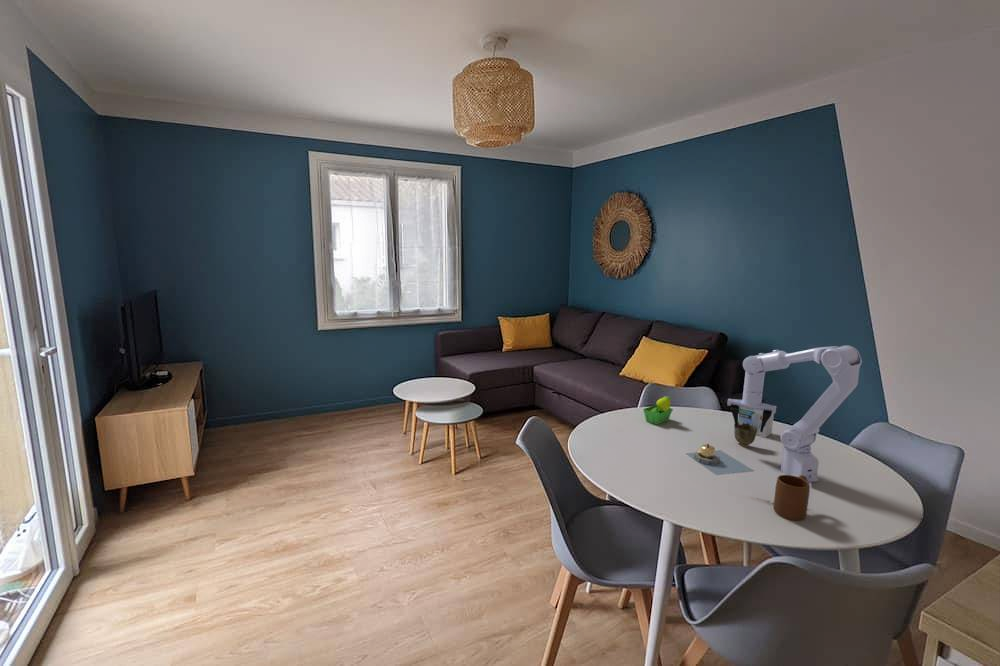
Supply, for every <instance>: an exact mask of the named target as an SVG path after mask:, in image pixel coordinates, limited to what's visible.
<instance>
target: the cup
mask: <svg viewBox="0 0 1000 666" xmlns="http://www.w3.org/2000/svg"><path fill="white" fill-rule="evenodd" d="M733 425H734V426H733V427H734V438H735V441H737V442H738V443H737V444H738V445H739V446H742V447H750V445H751V444H753V443H754V441H755V439H756V436H757V435H756V433H757V429H758V428H757V427H756V426H755V427H753V425H752V426H751V425H750V424H749V423H747V424H745V423H743V424H742V425H740V424H739V423H738V426H737V427H735V423H734V424H733Z"/></svg>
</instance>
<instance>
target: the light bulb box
mask: <svg viewBox="0 0 1000 666" xmlns="http://www.w3.org/2000/svg"><path fill="white" fill-rule="evenodd" d="M774 416H775V413H772V414H771V417H770V418H769V419H768V421H767V422H766V424H765V426H764V428H763V432H760V429H761V425H762V417H763V411H762V410H756V409H750V408H744V407H739V414H738V423H739V424H740V425H742V424H743V423H745V424H747V423H749V424H750V425H751V426H752V425H753V427H755V426H756V427H757V428H758V429H757V433H756V436H758V437H762V438H767V437H768V436H770V435H772V433H773V425H774Z"/></svg>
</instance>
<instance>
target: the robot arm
mask: <svg viewBox="0 0 1000 666" xmlns="http://www.w3.org/2000/svg"><path fill="white" fill-rule="evenodd" d="M809 361H814V362H816V363H817V364H818V365H819V364H822V365H823V368H825V370H826V372H827V373H828V374H829V375H830V377H831V379H832V380H831V381H832V383H831V384H830V385H829V386H828V387H827V389H825V391H824V392H823V393H822V394H821V395H820V396H819V398H818V399H817V400H816V401H815V403H814V404H813V405H812V406H811V407H810V408H809V410H807V412H805V414H804V415H803V417H802V418H801V419H800V420H798V421H797V422H795V423H794V424H793V425H792V426H791V427H790V428H788V429H785V430H783V431H782V432H781V433H780V436H779V437H780V442H781V443H782V445H783V447H782V455H781V463H780V470H781V472H782V473H784V474H785V475H791V476H796V477H799V476H800V475H803V476H805V477H806V478H807V482H808V483H813V482H819V479H818V478H817V476H818V472H819V471H818V470H819V469H818V468H819V458H817V457H816V456H815V455H814V454H813V452H811V451H812V446H811V445H813V444H814V443H815V441H816V440H817V435H818V433H820V430H821V429H820V427H822V426H823V424H824V423H825V422H826V421H827V419H829V417H831V415H832V414H833V413H834V412H835V411H836V410H837V409H838V408H839V406H840V405H841V404H842V403H843V402H844V401H845V400H846V399H847V397H848V396H850V394H851V393H852V392H853V391H854V390H855V389H856V388H857V386H858V385H859V375H860V368H861V365H862V363H863V359H862V357H861V354H860V352H859V351H858V349H857V348H856V347H854V346H851V345H848V344H847V345H846V344H845V345H841V346H838V345H835V346H823V347H822V346H821V347H820V346H819V347H814V348H810V349H806V350H800V351H795V352H790V353H789V352H786V351H784V350H779V349H774V350H772V352H767V353H764V352H760V353H758V354H757V355H749V356H747V357H745V358H744V360H743V361H742V368H743V370H744V371H745V373H744V374H745V375H744V383H743V392H742V399H735V398H728V399H727V406H730V408H729V409H730V411H731V414H732V417H733V420H734V424H735V427H737V426H738V420H739V412H740V407H744V408H750V409H756V410H762V411H763V417H762V425H761V429H760V432H763V428H764V426H765V424H766V422H767V421H768V419H769V418H770V417H771V414H772V413H774V414H777V405H773V404H768V403H764V402H762V400H763V391H764V384H765V382H764V381H765V377H766V376H765V375H766V372H771V371H777V370H778V371H779V370H785V369H787V368H789V366H790V364H795V363H801V362H809Z"/></svg>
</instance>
